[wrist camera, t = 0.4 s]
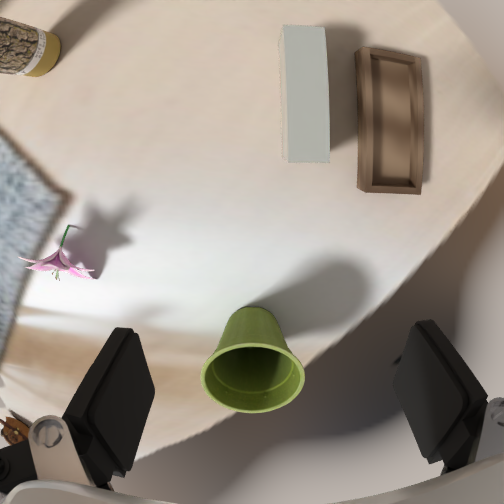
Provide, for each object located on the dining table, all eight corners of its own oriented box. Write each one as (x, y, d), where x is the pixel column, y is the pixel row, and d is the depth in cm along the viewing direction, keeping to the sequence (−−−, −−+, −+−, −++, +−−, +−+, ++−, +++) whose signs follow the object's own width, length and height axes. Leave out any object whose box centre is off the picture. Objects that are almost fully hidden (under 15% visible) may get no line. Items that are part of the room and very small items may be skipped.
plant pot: (275, 364, 45) (279, 420, 35) (202, 343, 44) (190, 399, 33) (308, 305, 41) (323, 359, 30) (226, 278, 40) (217, 330, 29)
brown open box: (354, 52, 28) (362, 46, 26) (409, 62, 28) (420, 58, 25) (357, 187, 35) (365, 192, 32) (409, 189, 35) (420, 194, 32)
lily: (36, 243, 39) (17, 294, 33) (36, 192, 32) (6, 248, 26) (101, 265, 44) (88, 318, 38) (114, 218, 37) (96, 279, 31)
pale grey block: (278, 44, 29) (283, 24, 22) (312, 45, 29) (324, 27, 22) (281, 157, 34) (288, 162, 27) (315, 157, 34) (329, 163, 27)
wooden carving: (45, 436, 62) (34, 459, 52) (45, 441, 63) (34, 463, 54) (4, 407, 58) (-9, 427, 49) (5, 412, 60) (-8, 432, 51)
